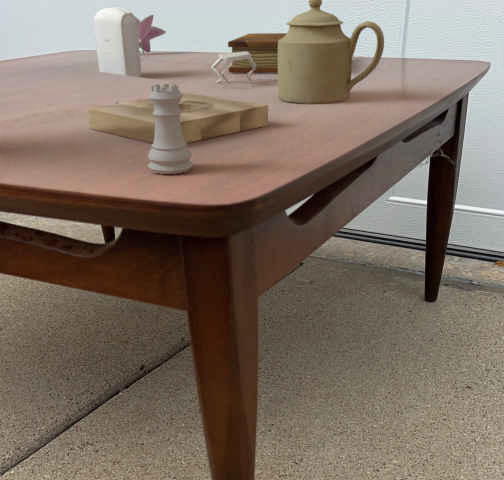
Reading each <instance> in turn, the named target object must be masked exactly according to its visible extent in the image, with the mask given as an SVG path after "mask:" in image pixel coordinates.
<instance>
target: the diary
mask: <svg viewBox="0 0 504 480" xmlns="http://www.w3.org/2000/svg"><path fill="white" fill-rule="evenodd" d="M286 34H287V32H283V33H282V32H279V33H278V32H271V33H269V32H268V33H267V32H265V33H259V32H258V33H247V34H245V35H242V36H240V37H237V38H235V39H232V40H229V41H228V42H227V47H228V48H231V53H235V52H245V51H248V53H250V54H251V58H252V60H253V61H254V62H255V64H256V65H257V66H256V69H255V70H254V71H253V73H252V74H255V73H258V74H260V73H261V74H269V73H271V74H273V73H274V74H275V73H277V74H278V40H280V39H282V38H283V37H285V35H286ZM231 62H232V63H231V66H229V67H228V73H234V74H237V73H238V74H239V73H240V74H241V73H242V74H243V73H246V74H248V73H249V72H250V71H251V70H252V69H253V68H252V66H251V65H250V63H249V61H248V60H247V59H243V60H237V61H231ZM253 65H254V64H253ZM254 66H255V65H254Z"/></svg>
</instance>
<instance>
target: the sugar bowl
mask: <svg viewBox="0 0 504 480" xmlns="http://www.w3.org/2000/svg"><path fill="white" fill-rule="evenodd" d="M322 4H323V1H322V0H308V6H309V7H310V9H309V10H307V11H304V12H301V13H298V14H296V15H294V17H292V19H291V20H290V21H288V22H286V23H285V25H286V26H288V30H287V32H286V33H287V34H286V35H285V37H283V38H282V39H280V40H278V73H277V86H278V99H279V100H281V101H283V102H286V103H293V104H305V105H306V104H307V105H308V104H311V105H315V104H316V105H317V104H319V105H320V104H332V103H334V104H335V103H340V102H344V101H347V100H349V99H350V96H351V91H352V89H353V87H355V86H356V85H357V84H359V83H360V82H362V81H364V79H366V78H367V77H368V76H369V75H370V74H371V73H372V72H373V71H374V70H375V69H376V68H377V66H378V64H379V63H380V61H381V58H382V56H383V53H384V49H385V36H384V32H383V30H382V28H381V27H380V26H379V25H378V24H377V23H376V22H374V21H370V20H369V21H368V20H366V21H363V22H361V23H359V24H358V25H356V27H355V28H354V30H353V31H352V33H351V36H350V37H349V36H347V35H346V34H345V33H344V32H343V30H342V26H341V25H343V24H344V21H342V20H340V19H339V18H338V17H337V16H336V15H335V14H333V13H330V12H327V11H324V10H322V9H321V7H322ZM367 28H369V29H371V30H373V32H374V34H375V36H376V48H375V52H374V55H373V58H372V60H371V61H370V64H368V66H366V68H365V69H364V70H363V71H362V72H361V73H359V74H358V75H357V76H355V77H354V78H352V67H353V66H352V65H353V57H354V55H355V51H356V48H357V43H358V40H359V38H360V35H361V33H362V31H363V30H365V29H367Z"/></svg>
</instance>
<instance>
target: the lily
mask: <svg viewBox="0 0 504 480" xmlns="http://www.w3.org/2000/svg"><path fill="white" fill-rule="evenodd" d="M135 18H136V21H137V28H138V39H139V49H141V51H142V54H145V52H146V53H148V52H150V53H151V40H154V39H155V38H158V37H161V36H163V35H165V34H166V33H167V31H166V30H164V29H162V28H160V27H157V26H154V25H153V22H154V14H150V15H148V16H146V17H145V18H143V19H142V20H140V19H139V18H138V17H137V16H135Z"/></svg>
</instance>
